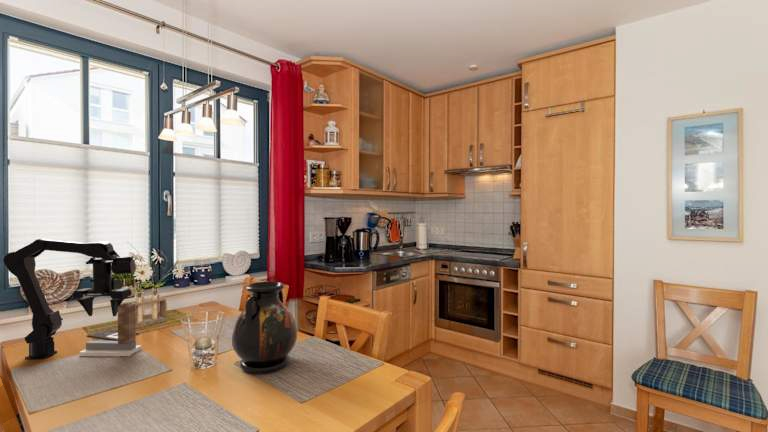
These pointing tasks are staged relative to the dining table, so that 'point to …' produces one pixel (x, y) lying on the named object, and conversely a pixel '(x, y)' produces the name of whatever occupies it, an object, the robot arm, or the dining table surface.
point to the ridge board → (110, 353)
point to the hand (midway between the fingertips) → (102, 316)
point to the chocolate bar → (106, 334)
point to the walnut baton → (126, 324)
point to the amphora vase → (264, 330)
